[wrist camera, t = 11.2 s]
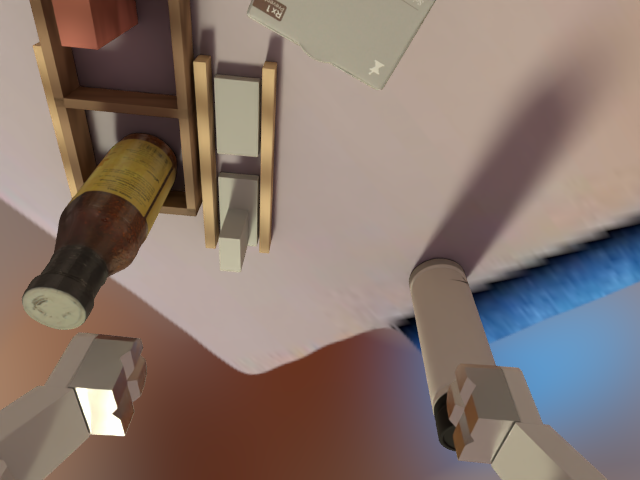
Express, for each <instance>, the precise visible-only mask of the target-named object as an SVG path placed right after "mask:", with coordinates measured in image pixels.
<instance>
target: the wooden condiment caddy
mask: <svg viewBox="0 0 640 480" xmlns="http://www.w3.org/2000/svg"><path fill="white" fill-rule="evenodd" d="M30 4H31V8H32V12H33V16H34V20H35V24H36V28H37V32H38V36H39V40H40V44H41V48H42V52H43V56H44V60H45V64H46V69H47V73H48V77H49V81H50V85H51V89H52V93H53V97H54V101H55V105H56V109H57V113H58V117H59V121H60V125H61V129H62V133H63V137H64V141H65V145H66V149H67V153H68V157H69V161H70V165H71V169H72V173H73V177H74V181H75V185H76V189H77V192H78V191H79V190H80V188H81V187H82V185H84V183H85V182H86V181H87V179H88V177H89V176H90V175H91V174H92V173H93V171H94V170H95V169H96V168H97V167H96V162H95V157H94V153H93V148H92V143H91V138H90V134H89V129H88V124H87V120H86V115H85V110H95V111H106V112H116V113H127V114H137V115H148V116H158V117H169V118H179V126H180V137H181V148H182V159H183V170H184V181H185V192H183V191H172V190H170V191H169V193H168V195H167V197H166V199H165V201H164V203H163V205H162V207H161V209H160V212H159V213H165V214H176V215H187V216H196V215H197V213H198V211H199V208H200V206H201V204H202V201H203V199H202V184H201V169H200V154H199V140H198V125H197V110H196V95H195V81H194V66H193V61H194V57H193V42H192V27H191V12H190V0H168V6H169V17H170V28H171V39H172V50H173V61H174V72H175V83H176V94H177V96H173V95H163V94H153V93H143V92H132V91H122V90H112V89H101V88H91V87H81V86H79V82H78V77H77V73H76V68H75V63H74V58H73V54H72V49H71V47H77V48H87V49H97V50H98V49H100V48H101V47H103V46H104V45H106V44H107V43H109V42H110V41H112V40H114V39H115V38H117V37H118V36H120V35H121V34H123V33H124V32H126V31H127V30H129V29H130V28H132V27H134V26H135V25H137V24H138V18H137V10H136V2H135V0H30ZM84 109H85V110H84Z"/></svg>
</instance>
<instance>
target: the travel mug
mask: <svg viewBox="0 0 640 480" xmlns="http://www.w3.org/2000/svg"><path fill="white" fill-rule="evenodd" d="M409 286H410V291H411V296H412V302H413V307H414V312H415V318H416V323H417V329H418V334H419V339H420V345H421V350H422V355H423V361H424V366H425V371H426V377H427V382H428V387H429V393H430V398H431V404H432V408H433V413H434V415H435V420H436V427H437V432H438V437H439V441H440V443H441V445H443V446H444V447H445V448H447V449H449V450H452V451H456V449H455V445H454V440H453V433H454V431H455V429H456V427H455V426H454V425H453V423H452V422H451V421H450V420H449V417H448V412H447V392H448V389H449V386H450V383H452V382H453V381H455V380H456V376H455V371H456V368H457V366H458V365H459V364H460V363H463V364H478V365H493V366H496V365H495V361H494V359H493V355H492V353H491V350H490V347H489V344H488V341H487V338H486V335H485V332H484V329H483V326H482V323H481V320H480V317H479V314H478V311H477V308H476V305H475V302H474V299H473V296H472V293H471V290H470V287H469V284H468V282H467V279H466V276H465V273H464V270H463V269H462V267H461V266H460V265H459V264H457V263H456V262H454V261H451V260H448V259H432V260H429V261H426V262H424V263H422V264H420V265H419V266H418V267H417V268H415V269H414V271H413V272H412V274H411V276H410V279H409Z"/></svg>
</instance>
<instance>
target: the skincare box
mask: <svg viewBox="0 0 640 480" xmlns="http://www.w3.org/2000/svg"><path fill="white" fill-rule="evenodd" d="M435 1H436V0H252V1H251V3H250V6H249V8H248V11H247V16H248V17H249V18H251V19H253V20H255V21H257V22H258V23H260V24H262V25H264V26H265V27H267V28H269V29H271V30H272V31H274V32H276V33H278V34H279V35H281V36H283V37H285V38H287V39H288V40H290V41H292V42H294V43H295V44H297V45H299V46H301V47H302V49H303V51H304V52H305V53H306V54H307V55H308V56H309V57H311V58H313V59H315V60H317V61H320V62H324V63H330V64H332V65H333V66H335V67H337V68H338V69H340V70H342V71H344V72H345V73H347V74H349V75H351V76H352V77H354V78H356V79H358V80H360V81H361V82H363V83H365V84H367V85H368V86H370V87H372V88H374V89H376V90H382V89H383V88H384V86H385V84H386V83H387V81H388V79H389V78H390V76H391V75H392V73H393V71H394V70H395V68H396V66H397V65H398V63H399V61H400V60H401V58H402V56H403V55H404V53H405V51H406V50H407V48H408V46H409V45H410V43H411V41H412V40H413V38H414V36H415V35H416V33H417V31H418V30H419V28H420V26H421V24H422V23H423V21H424V19H425V18H426V16H427V14H428V13H429V11H430V9H431V8H432V6H433V4H434V3H435Z"/></svg>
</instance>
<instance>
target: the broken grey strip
mask: <svg viewBox="0 0 640 480" xmlns="http://www.w3.org/2000/svg"><path fill="white" fill-rule="evenodd" d="M214 91H215V114H216V137H217V153H219V154H230V155H240V156H251V157H258V155H259V141H260V79H259V78H249V77H239V76H229V75H219V74H216V76H215V77H214ZM218 183H219V206H220V229H221V232H220V235H219V258H220V271H231V272H241V269H242V265H243V261H244V257H245V253H246V249H247V246H257V243H258V210H259V176H258V175H247V174H236V173H225V172H220V174H219V176H218Z"/></svg>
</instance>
